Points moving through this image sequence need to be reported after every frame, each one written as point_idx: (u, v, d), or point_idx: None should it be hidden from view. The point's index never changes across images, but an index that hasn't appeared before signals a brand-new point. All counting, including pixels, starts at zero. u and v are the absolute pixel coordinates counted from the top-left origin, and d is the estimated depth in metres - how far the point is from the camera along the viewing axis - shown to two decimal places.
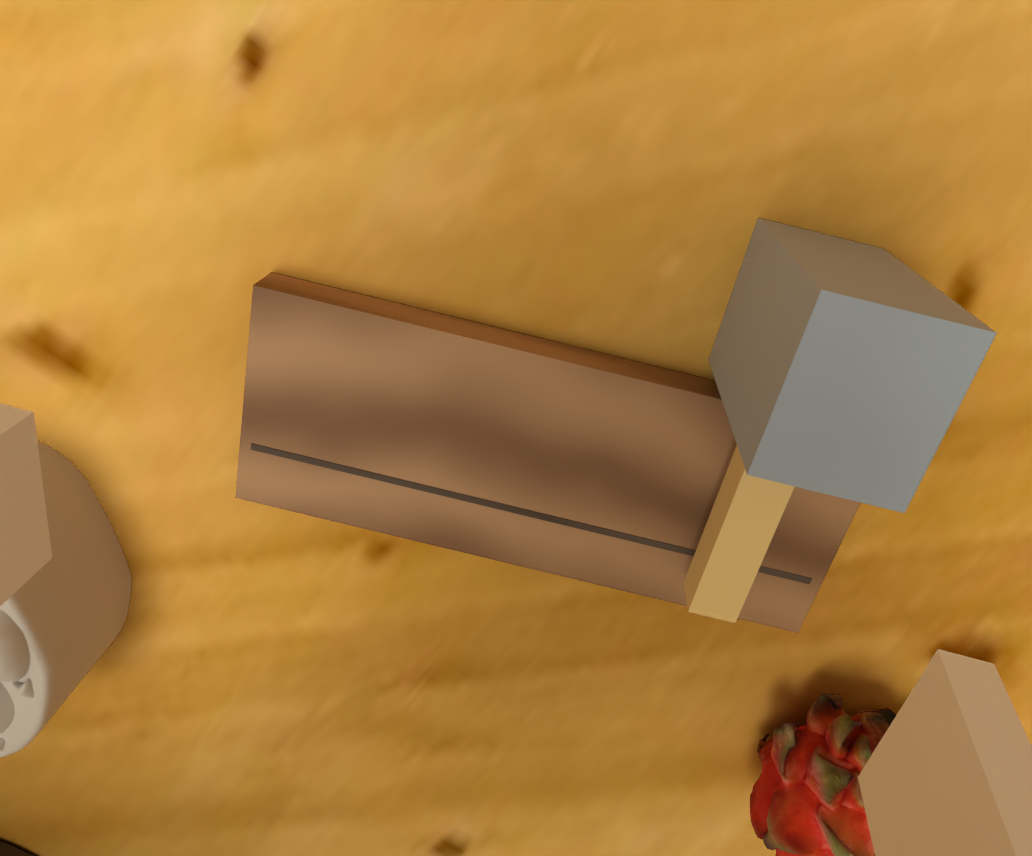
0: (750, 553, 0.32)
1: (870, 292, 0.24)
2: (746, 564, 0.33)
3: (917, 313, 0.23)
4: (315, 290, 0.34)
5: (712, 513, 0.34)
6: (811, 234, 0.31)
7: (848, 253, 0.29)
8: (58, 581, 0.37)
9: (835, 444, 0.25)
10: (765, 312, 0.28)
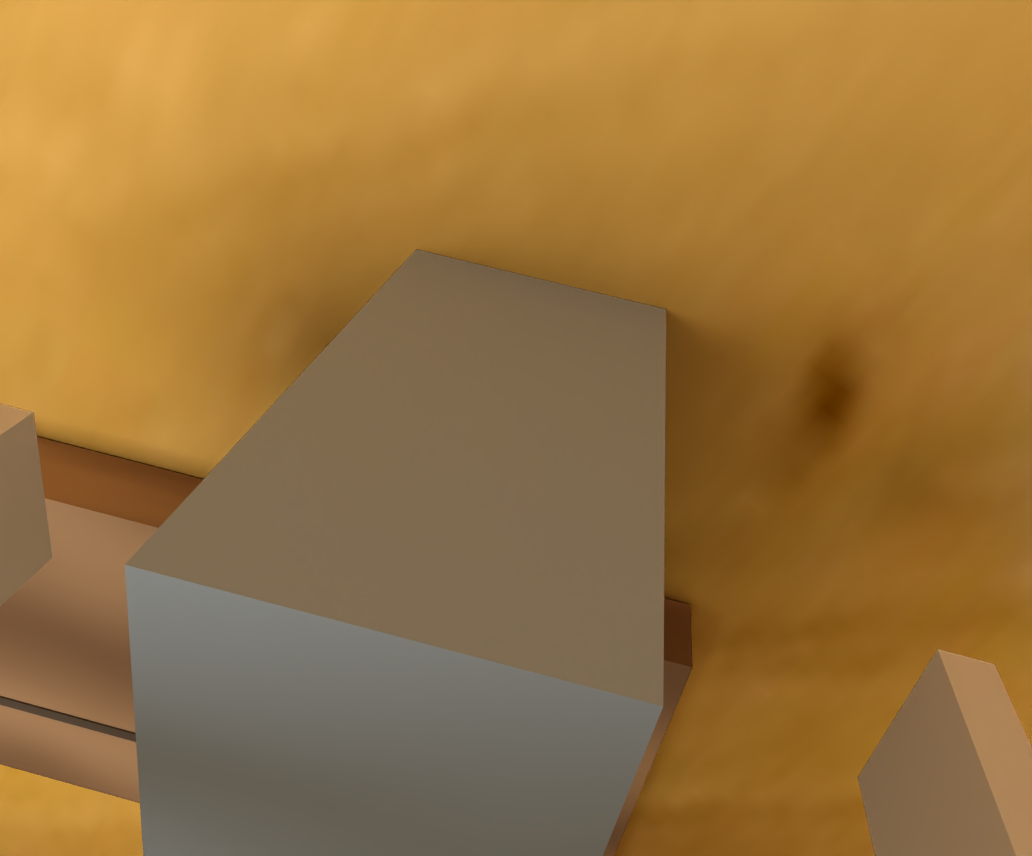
0: None
1: (354, 535, 0.08)
2: None
3: (415, 641, 0.07)
4: None
5: None
6: (501, 286, 0.15)
7: (528, 342, 0.13)
8: None
9: None
10: None
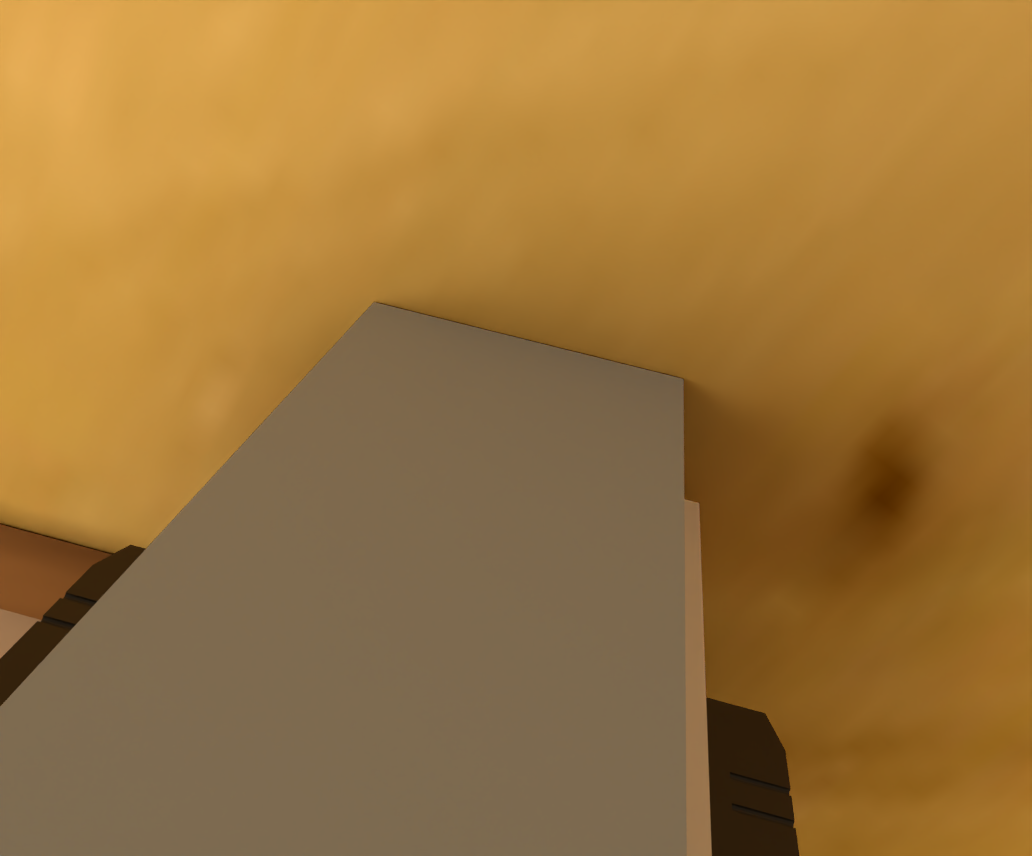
0: None
1: (200, 833, 0.05)
2: None
3: None
4: None
5: None
6: (477, 353, 0.12)
7: (505, 438, 0.10)
8: None
9: None
10: None
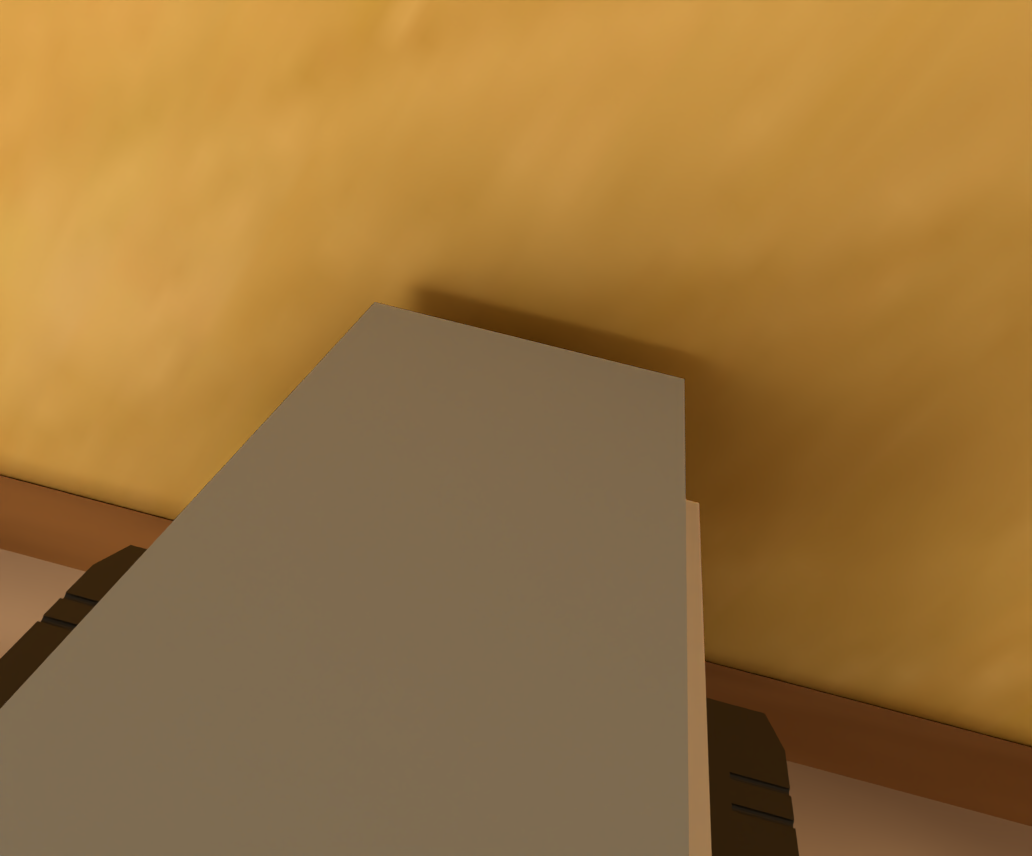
0: None
1: (203, 833, 0.05)
2: None
3: None
4: None
5: None
6: (478, 353, 0.12)
7: (507, 438, 0.10)
8: None
9: None
10: None
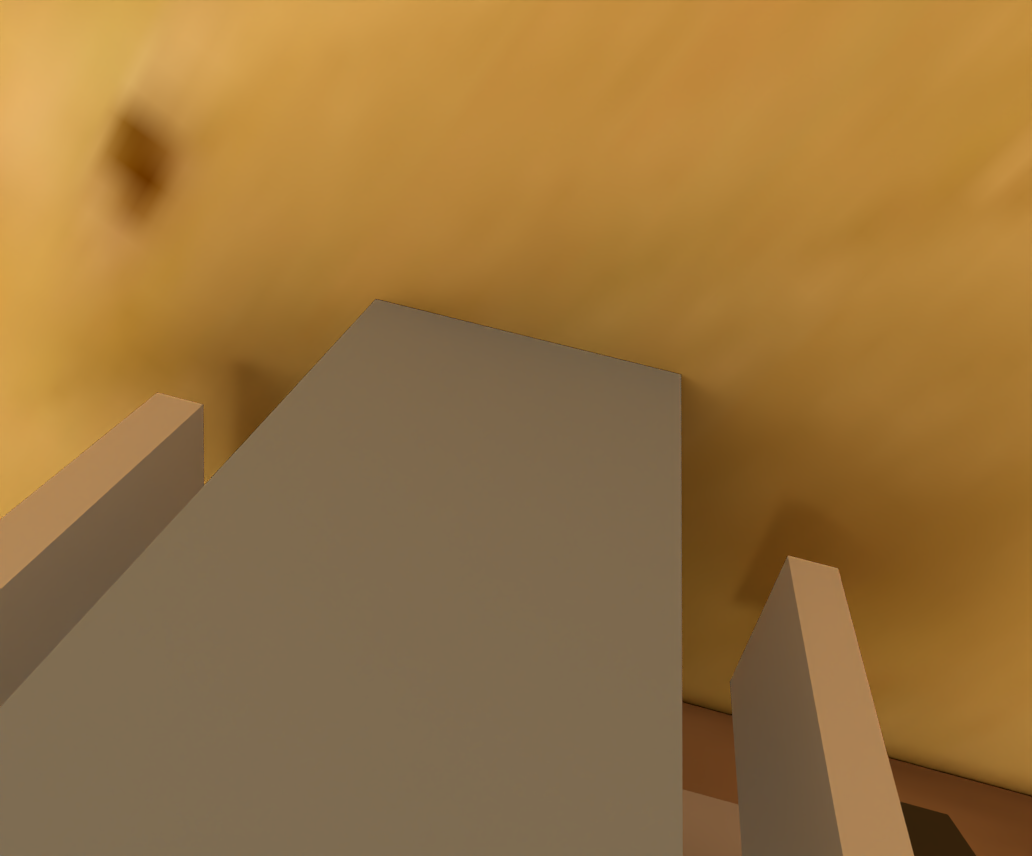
0: None
1: (212, 810, 0.06)
2: None
3: None
4: None
5: None
6: (477, 349, 0.12)
7: (505, 432, 0.10)
8: None
9: None
10: None
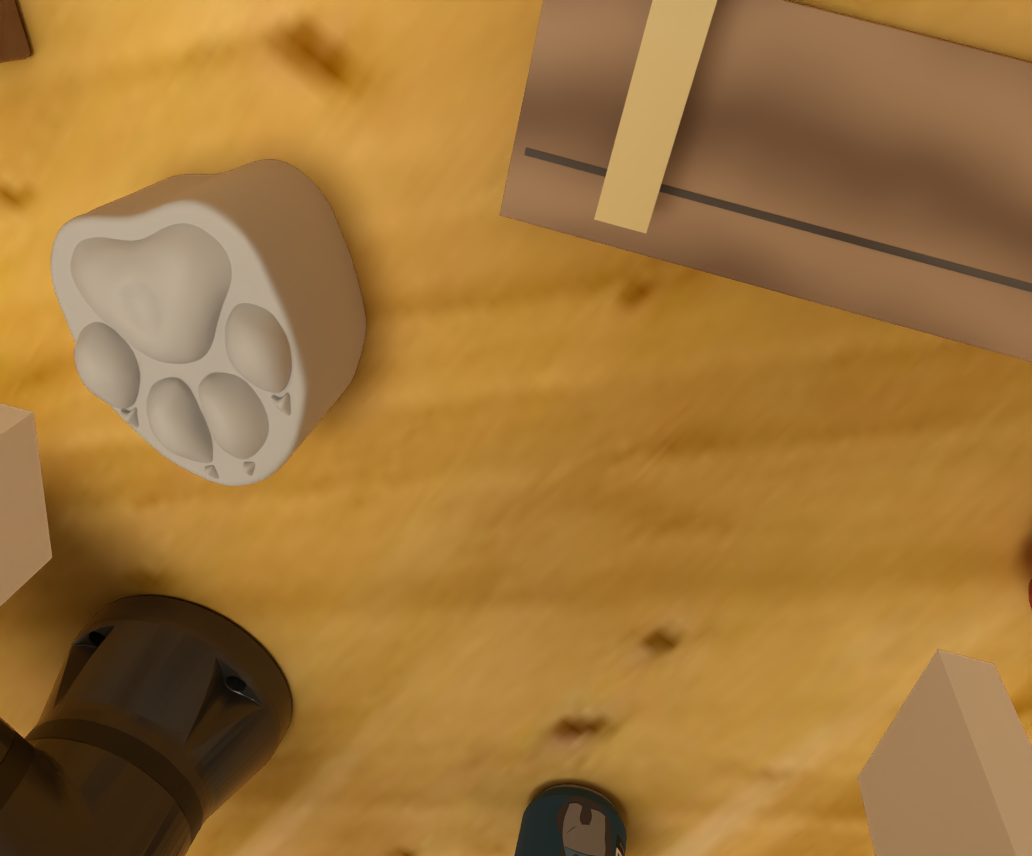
0: (658, 137, 0.29)
1: None
2: (654, 153, 0.29)
3: None
4: None
5: None
6: None
7: None
8: (314, 298, 0.35)
9: None
10: None
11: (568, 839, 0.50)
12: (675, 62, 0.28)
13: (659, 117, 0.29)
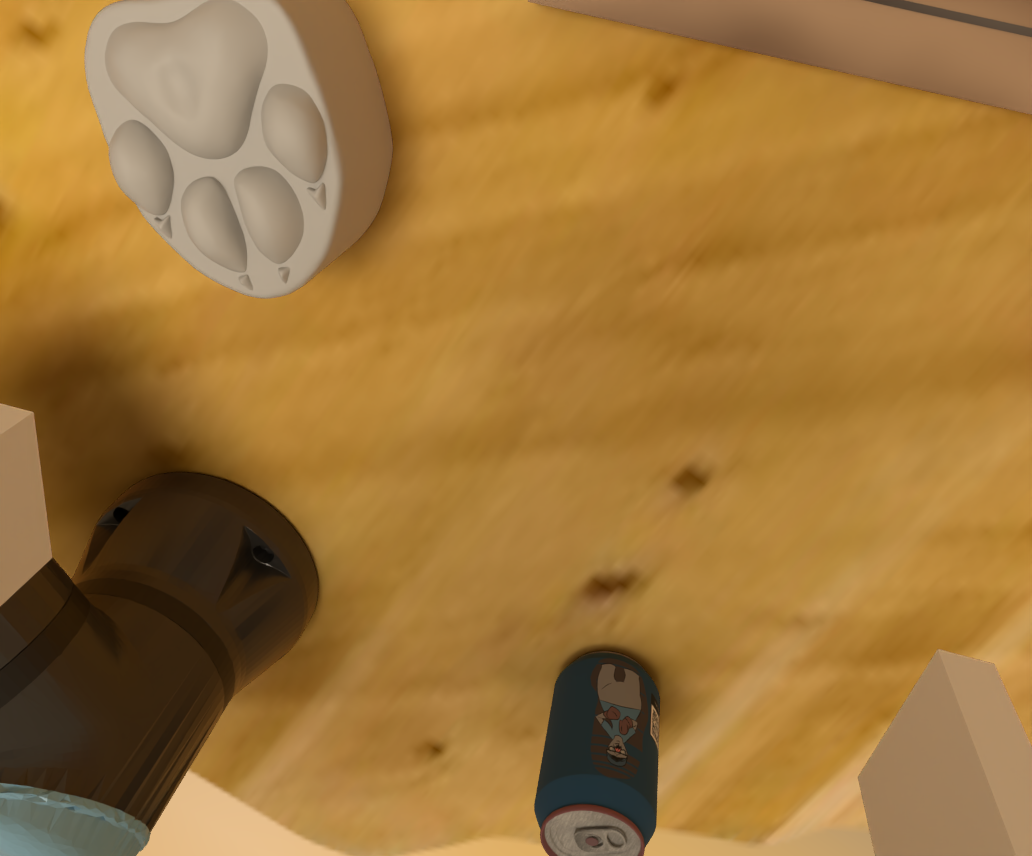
0: None
1: None
2: None
3: None
4: None
5: None
6: None
7: None
8: (346, 94, 0.36)
9: None
10: None
11: (603, 694, 0.50)
12: None
13: None
